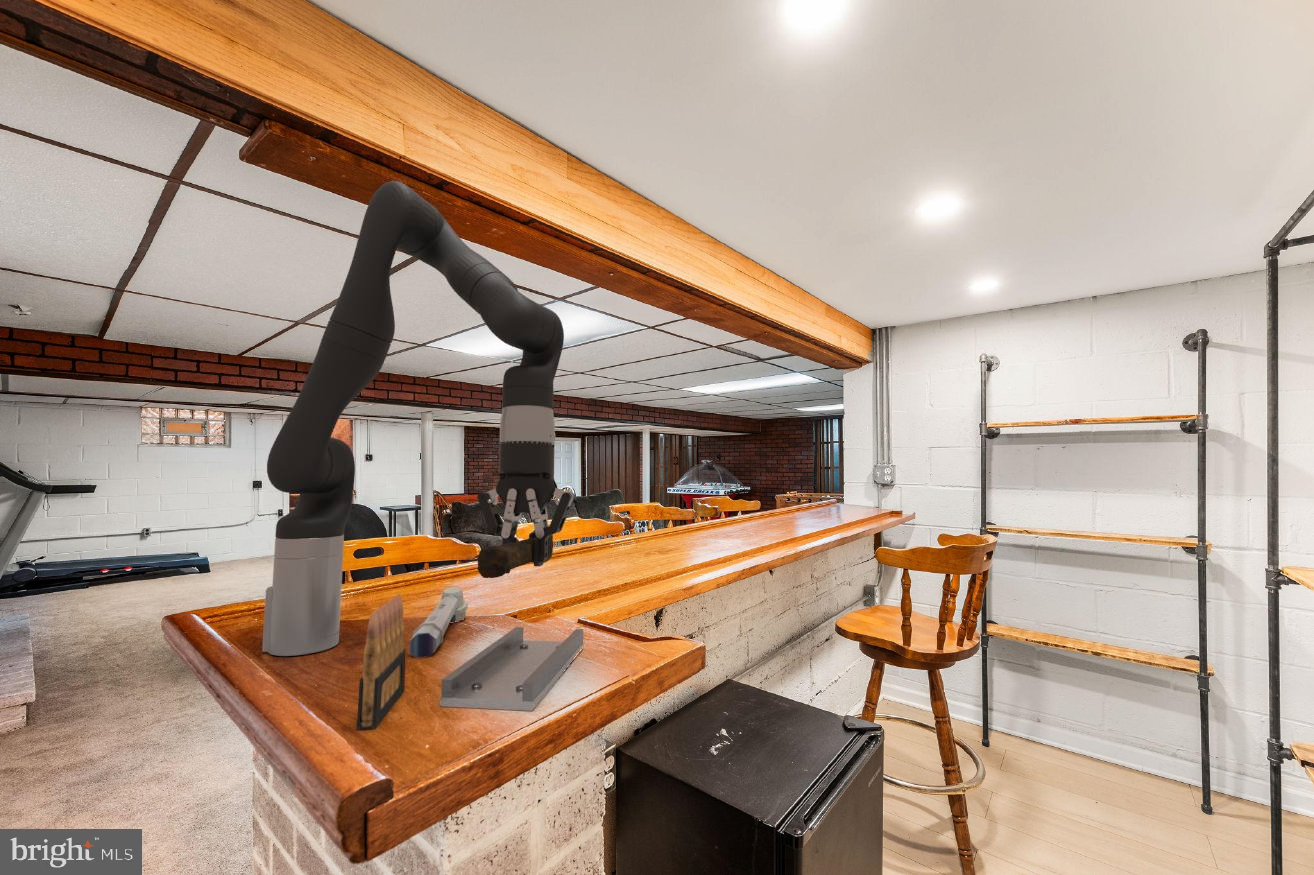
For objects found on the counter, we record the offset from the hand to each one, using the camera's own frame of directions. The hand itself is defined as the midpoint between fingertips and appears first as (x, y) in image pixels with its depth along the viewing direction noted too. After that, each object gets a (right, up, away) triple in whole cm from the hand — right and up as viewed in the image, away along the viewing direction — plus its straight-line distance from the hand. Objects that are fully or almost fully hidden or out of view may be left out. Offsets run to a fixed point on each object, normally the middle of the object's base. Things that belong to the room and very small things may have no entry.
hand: (525, 564), depth 74 cm
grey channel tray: (0, -14, -1) cm, 14 cm away
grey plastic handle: (-19, -16, +18) cm, 31 cm away
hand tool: (-1, 0, 0) cm, 1 cm away
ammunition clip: (-13, -14, -13) cm, 23 cm away
